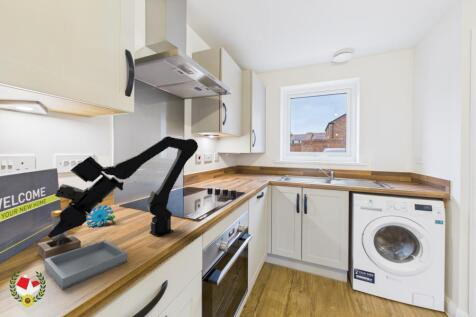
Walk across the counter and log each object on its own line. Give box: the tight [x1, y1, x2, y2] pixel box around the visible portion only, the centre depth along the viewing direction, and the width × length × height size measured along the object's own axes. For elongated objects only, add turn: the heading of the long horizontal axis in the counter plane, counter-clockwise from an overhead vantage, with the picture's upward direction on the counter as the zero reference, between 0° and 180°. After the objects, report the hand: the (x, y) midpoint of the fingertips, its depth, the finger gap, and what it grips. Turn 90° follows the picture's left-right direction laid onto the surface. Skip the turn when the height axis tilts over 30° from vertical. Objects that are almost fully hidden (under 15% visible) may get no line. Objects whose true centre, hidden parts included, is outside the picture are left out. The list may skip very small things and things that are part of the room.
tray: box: [44, 239, 128, 291], centre depth 53 cm, size 14×14×2 cm
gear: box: [86, 204, 116, 228], centre depth 84 cm, size 11×6×10 cm
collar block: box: [37, 234, 82, 262], centre depth 59 cm, size 8×8×3 cm
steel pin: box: [50, 209, 68, 247], centre depth 59 cm, size 4×4×12 cm
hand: (53, 231), depth 58 cm, fingers open, 9 cm apart
